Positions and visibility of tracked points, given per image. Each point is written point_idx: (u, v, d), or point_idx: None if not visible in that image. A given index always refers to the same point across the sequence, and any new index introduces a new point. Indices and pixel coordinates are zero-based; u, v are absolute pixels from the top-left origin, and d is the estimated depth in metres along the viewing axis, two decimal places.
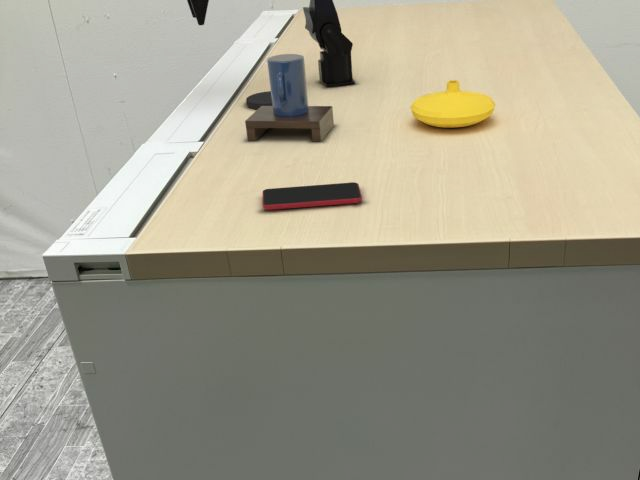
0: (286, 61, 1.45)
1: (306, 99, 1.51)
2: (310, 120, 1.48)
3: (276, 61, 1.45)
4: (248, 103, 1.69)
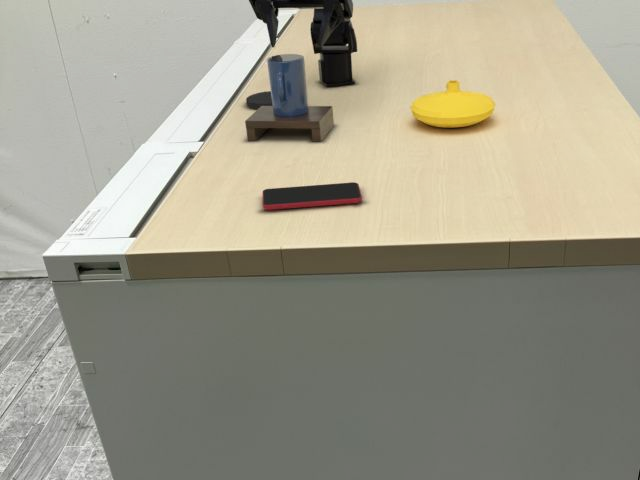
0: (286, 61, 1.45)
1: (306, 99, 1.51)
2: (310, 120, 1.48)
3: (276, 61, 1.45)
4: (248, 103, 1.69)
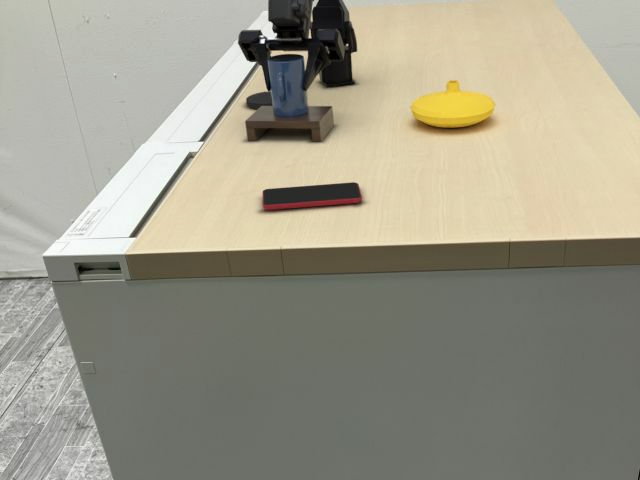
0: (286, 61, 1.45)
1: (306, 99, 1.51)
2: (310, 120, 1.48)
3: (276, 61, 1.45)
4: (248, 103, 1.69)
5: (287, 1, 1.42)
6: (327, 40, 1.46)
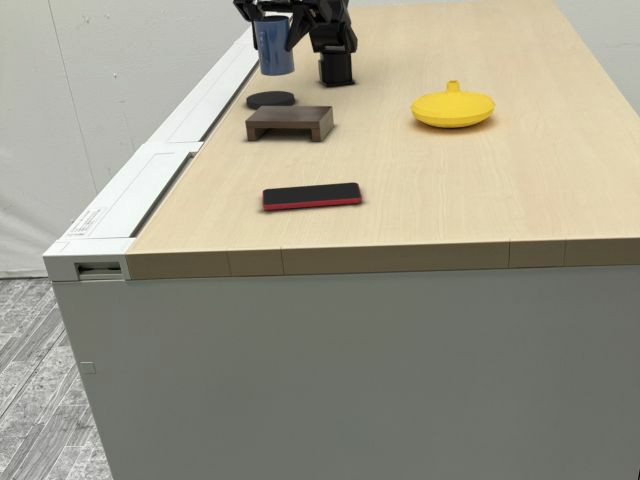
0: (269, 21, 1.52)
1: (290, 60, 1.57)
2: (310, 120, 1.48)
3: (260, 21, 1.52)
4: (248, 103, 1.69)
5: None
6: (310, 3, 1.51)
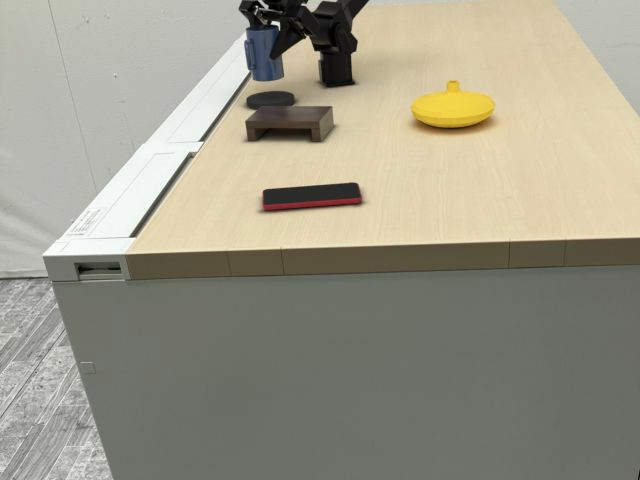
0: (255, 30, 1.61)
1: (276, 68, 1.65)
2: (310, 120, 1.48)
3: (248, 29, 1.62)
4: (248, 103, 1.69)
5: None
6: (293, 15, 1.58)
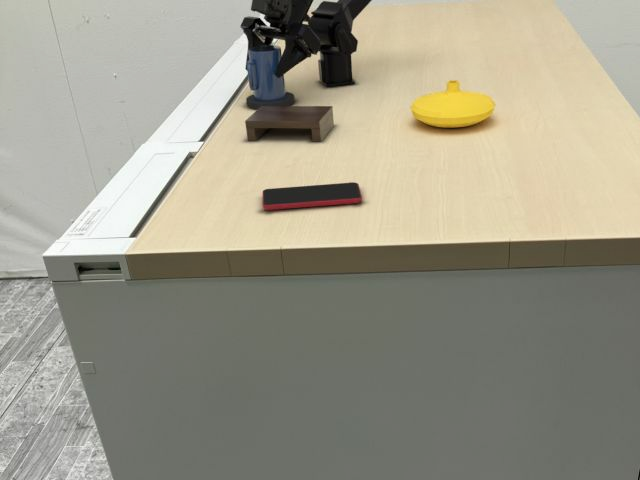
0: (257, 51, 1.63)
1: (278, 88, 1.67)
2: (310, 120, 1.48)
3: (251, 50, 1.64)
4: (248, 103, 1.69)
5: None
6: (294, 34, 1.60)
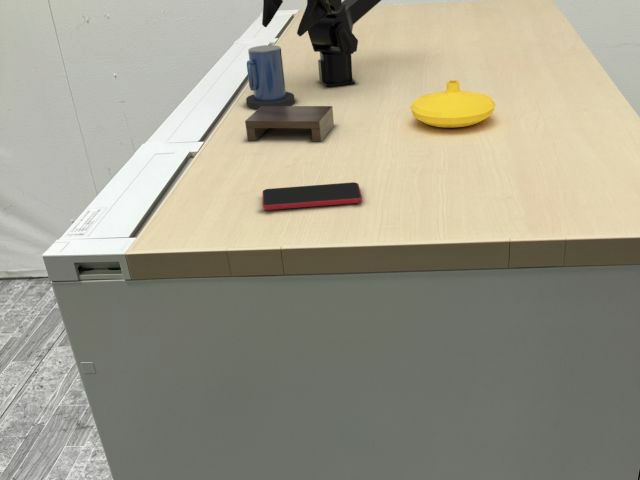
0: (257, 51, 1.63)
1: (278, 88, 1.67)
2: (310, 120, 1.48)
3: (251, 50, 1.64)
4: (248, 103, 1.69)
5: None
6: None
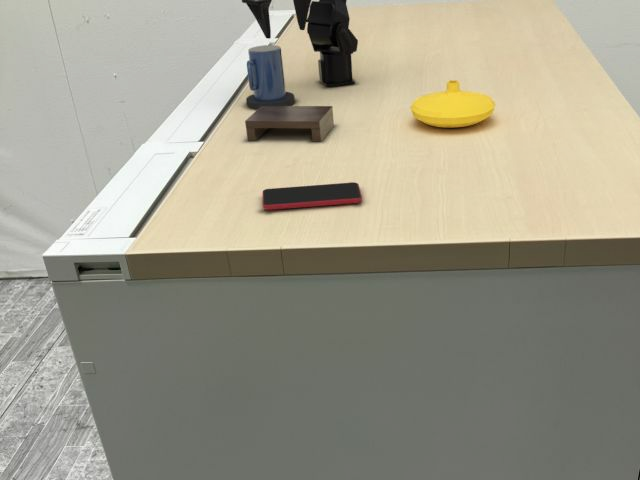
0: (257, 51, 1.63)
1: (278, 88, 1.67)
2: (310, 120, 1.48)
3: (251, 50, 1.64)
4: (248, 103, 1.69)
5: None
6: None
